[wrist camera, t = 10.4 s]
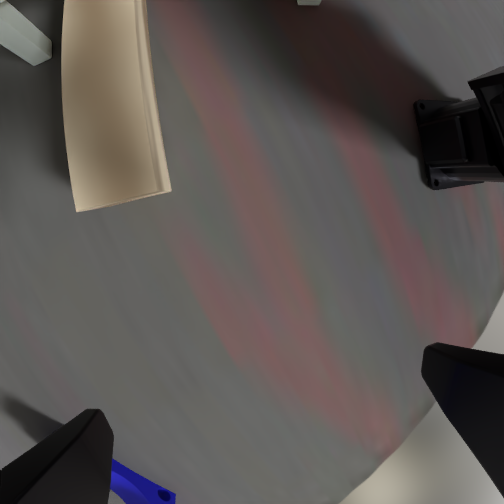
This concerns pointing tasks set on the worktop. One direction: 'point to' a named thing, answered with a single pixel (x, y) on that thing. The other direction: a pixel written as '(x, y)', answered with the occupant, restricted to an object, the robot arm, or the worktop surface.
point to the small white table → (38, 34)
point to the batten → (110, 104)
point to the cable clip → (137, 487)
